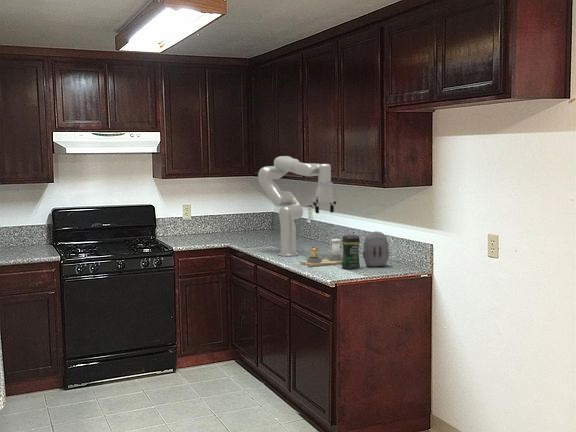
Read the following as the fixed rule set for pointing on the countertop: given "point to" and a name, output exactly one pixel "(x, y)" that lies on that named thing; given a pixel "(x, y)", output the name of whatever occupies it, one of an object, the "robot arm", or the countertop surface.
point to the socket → (314, 260)
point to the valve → (313, 252)
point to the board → (324, 263)
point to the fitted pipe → (335, 251)
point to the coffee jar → (350, 252)
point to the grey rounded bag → (376, 249)
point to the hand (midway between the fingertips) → (324, 212)
